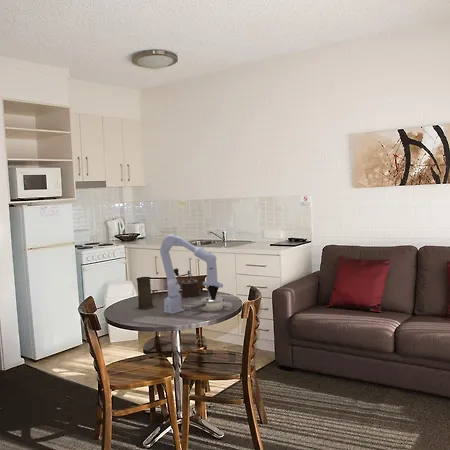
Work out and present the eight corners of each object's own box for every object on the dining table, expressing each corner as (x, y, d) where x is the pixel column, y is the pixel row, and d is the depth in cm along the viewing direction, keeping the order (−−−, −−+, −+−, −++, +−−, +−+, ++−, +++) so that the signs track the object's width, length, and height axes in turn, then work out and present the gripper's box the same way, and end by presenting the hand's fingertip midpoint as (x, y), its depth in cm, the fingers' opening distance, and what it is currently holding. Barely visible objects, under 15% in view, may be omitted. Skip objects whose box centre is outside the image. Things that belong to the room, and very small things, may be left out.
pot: (200, 316, 266) (199, 307, 266) (185, 313, 275) (185, 304, 274) (230, 307, 282) (229, 298, 282) (215, 304, 291) (214, 296, 291)
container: (150, 309, 289) (148, 279, 288) (135, 309, 291) (133, 279, 289) (155, 305, 298) (153, 276, 296) (141, 305, 300) (139, 276, 298)
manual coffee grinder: (198, 293, 326) (196, 266, 324) (198, 296, 315) (196, 269, 313) (174, 295, 325) (172, 268, 323) (174, 298, 314) (172, 270, 312)
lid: (196, 301, 280) (196, 298, 280) (212, 296, 289) (212, 293, 289) (211, 303, 272) (211, 300, 272) (227, 298, 280) (227, 295, 280)
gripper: (226, 275, 276) (227, 298, 277) (208, 273, 286) (209, 296, 287) (217, 277, 271) (218, 301, 272) (199, 275, 281) (201, 298, 282)
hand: (213, 298), depth 279 cm, fingers closed, pressing on lid
